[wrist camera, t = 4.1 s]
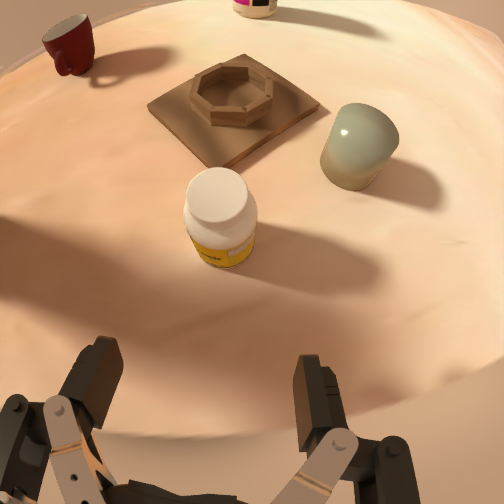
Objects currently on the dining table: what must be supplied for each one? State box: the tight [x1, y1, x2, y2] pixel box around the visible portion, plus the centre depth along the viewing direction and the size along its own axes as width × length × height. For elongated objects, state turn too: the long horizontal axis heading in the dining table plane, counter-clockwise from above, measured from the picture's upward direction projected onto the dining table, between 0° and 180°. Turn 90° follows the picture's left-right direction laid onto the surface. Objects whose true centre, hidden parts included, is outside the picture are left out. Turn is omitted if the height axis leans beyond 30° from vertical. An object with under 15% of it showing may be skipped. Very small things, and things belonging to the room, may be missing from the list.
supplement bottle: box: [183, 167, 257, 269], centre depth 23 cm, size 5×5×10 cm
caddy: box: [147, 54, 320, 169], centre depth 31 cm, size 16×14×4 cm
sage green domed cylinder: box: [320, 103, 399, 191], centre depth 27 cm, size 6×6×7 cm
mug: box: [42, 14, 95, 76], centre depth 30 cm, size 11×8×10 cm
